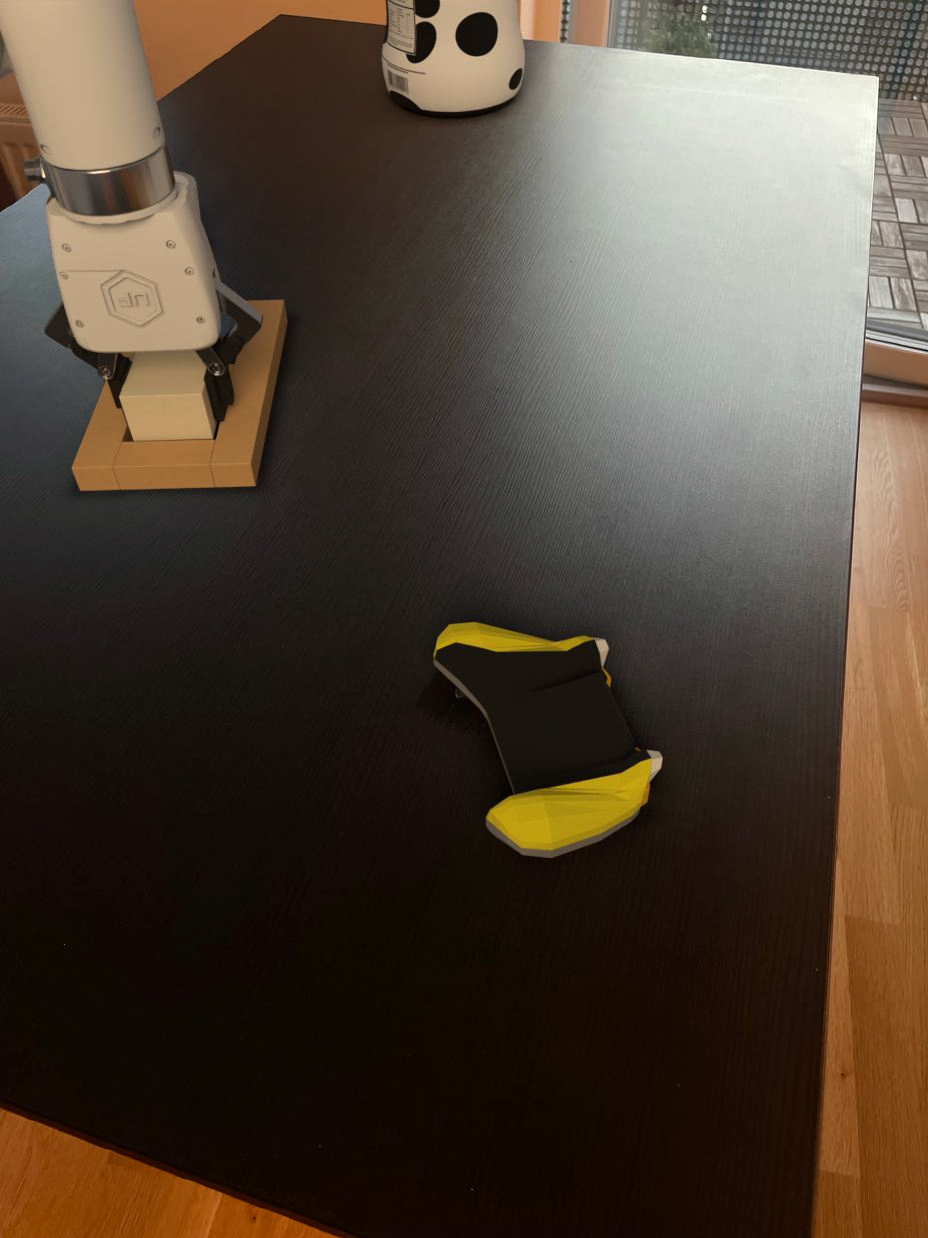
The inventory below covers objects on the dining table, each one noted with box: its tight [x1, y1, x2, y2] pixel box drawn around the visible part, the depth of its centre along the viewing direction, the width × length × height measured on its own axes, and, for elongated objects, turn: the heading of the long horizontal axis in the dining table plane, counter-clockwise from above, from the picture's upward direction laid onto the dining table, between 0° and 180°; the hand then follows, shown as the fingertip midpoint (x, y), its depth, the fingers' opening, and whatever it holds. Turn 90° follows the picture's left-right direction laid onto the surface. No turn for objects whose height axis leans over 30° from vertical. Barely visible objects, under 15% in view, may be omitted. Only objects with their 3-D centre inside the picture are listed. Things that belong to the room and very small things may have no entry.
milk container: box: [381, 0, 526, 118], centre depth 118 cm, size 17×17×18 cm
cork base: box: [71, 299, 288, 492], centre depth 81 cm, size 13×23×2 cm, turn 1°
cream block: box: [119, 350, 218, 442], centre depth 75 cm, size 6×6×4 cm
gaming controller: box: [433, 621, 664, 859], centre depth 55 cm, size 15×6×10 cm
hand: (178, 410), depth 76 cm, fingers closed on cream block, 6 cm apart
